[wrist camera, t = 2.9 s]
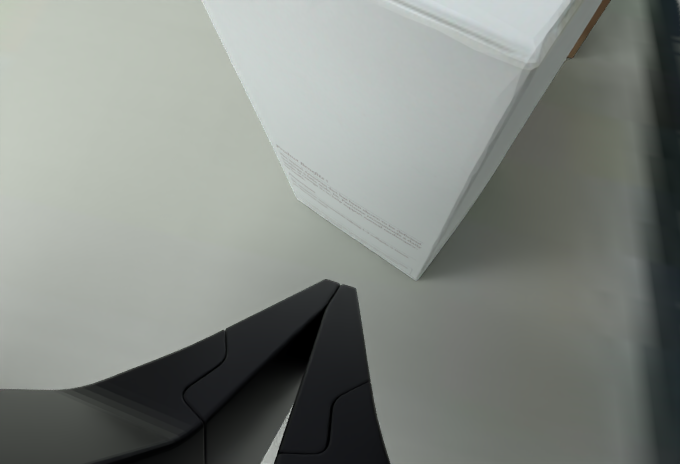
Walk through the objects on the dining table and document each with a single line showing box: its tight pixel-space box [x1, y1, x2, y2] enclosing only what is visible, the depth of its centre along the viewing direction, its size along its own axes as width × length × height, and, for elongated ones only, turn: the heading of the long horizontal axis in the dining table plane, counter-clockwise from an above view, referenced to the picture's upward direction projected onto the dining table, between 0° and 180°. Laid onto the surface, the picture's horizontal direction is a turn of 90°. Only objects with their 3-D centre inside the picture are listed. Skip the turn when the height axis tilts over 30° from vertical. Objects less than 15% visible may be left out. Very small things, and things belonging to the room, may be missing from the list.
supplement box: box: [202, 0, 602, 280], centre depth 12 cm, size 7×7×13 cm
